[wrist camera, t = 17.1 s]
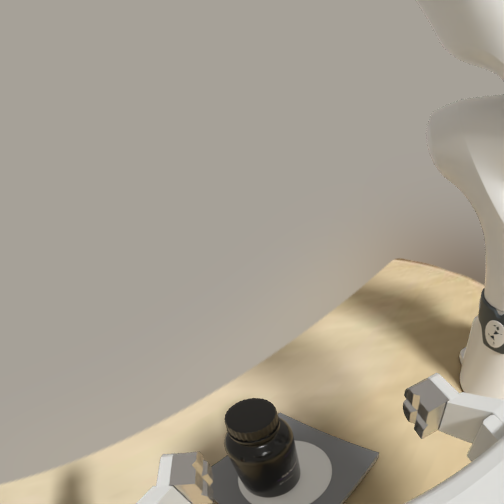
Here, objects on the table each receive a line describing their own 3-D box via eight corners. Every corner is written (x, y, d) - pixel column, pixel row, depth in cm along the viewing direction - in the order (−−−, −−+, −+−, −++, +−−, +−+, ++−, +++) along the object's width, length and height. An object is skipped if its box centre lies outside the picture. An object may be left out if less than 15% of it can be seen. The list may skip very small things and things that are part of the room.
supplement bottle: (304, 494, 22) (291, 436, 19) (242, 501, 22) (208, 446, 19) (298, 451, 28) (283, 385, 26) (244, 459, 29) (216, 395, 26)
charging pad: (281, 417, 37) (279, 411, 36) (378, 457, 25) (379, 452, 24) (196, 483, 26) (192, 478, 26) (290, 555, 15) (289, 553, 14)
